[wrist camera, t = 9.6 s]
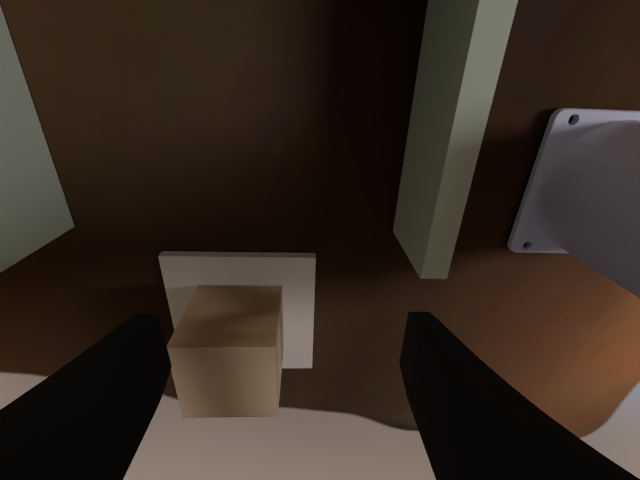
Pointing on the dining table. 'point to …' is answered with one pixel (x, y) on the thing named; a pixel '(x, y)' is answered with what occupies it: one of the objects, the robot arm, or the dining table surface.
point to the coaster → (250, 269)
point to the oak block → (229, 352)
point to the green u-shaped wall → (419, 160)
